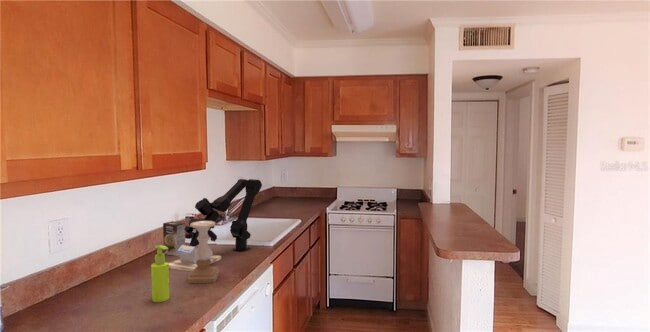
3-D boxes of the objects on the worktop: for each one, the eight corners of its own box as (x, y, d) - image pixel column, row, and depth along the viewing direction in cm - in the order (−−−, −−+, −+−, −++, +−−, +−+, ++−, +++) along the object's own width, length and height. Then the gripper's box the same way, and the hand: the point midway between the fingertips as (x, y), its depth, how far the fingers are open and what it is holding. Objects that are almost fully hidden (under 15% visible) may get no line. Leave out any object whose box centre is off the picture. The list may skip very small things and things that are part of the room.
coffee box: (163, 254, 196) (162, 223, 195) (172, 250, 202) (171, 220, 201) (176, 256, 192) (176, 224, 191) (186, 252, 198) (185, 222, 197)
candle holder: (193, 274, 167) (192, 220, 165) (219, 273, 168) (218, 220, 166) (187, 283, 156) (186, 226, 154) (214, 282, 157) (213, 225, 155)
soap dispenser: (160, 304, 136) (158, 249, 135) (148, 299, 140) (147, 246, 139) (174, 298, 141) (173, 245, 140) (163, 294, 145) (161, 242, 144)
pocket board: (194, 255, 194) (194, 252, 194) (221, 258, 188) (221, 255, 188) (166, 267, 175) (165, 264, 175) (194, 271, 170) (194, 268, 170)
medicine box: (201, 259, 180) (195, 246, 176) (196, 266, 177) (190, 253, 172) (188, 257, 183) (181, 244, 179) (182, 264, 180) (176, 251, 175)
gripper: (187, 209, 187) (167, 235, 179) (211, 213, 177) (191, 241, 168) (200, 222, 194) (182, 248, 186) (225, 227, 183) (206, 255, 175)
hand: (189, 248), depth 178 cm, fingers closed
